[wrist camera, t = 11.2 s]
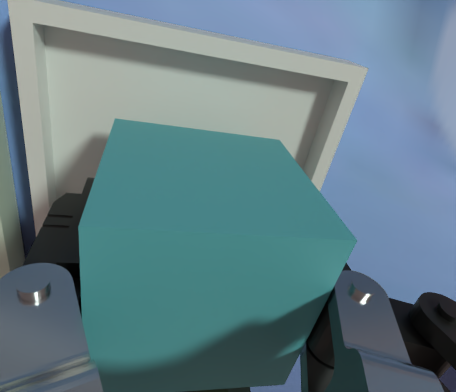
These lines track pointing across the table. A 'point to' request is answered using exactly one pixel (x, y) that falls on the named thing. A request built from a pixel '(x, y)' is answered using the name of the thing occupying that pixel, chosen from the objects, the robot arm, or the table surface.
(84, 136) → the grey tray
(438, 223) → the table surface
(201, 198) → the teal block
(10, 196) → the green tray
